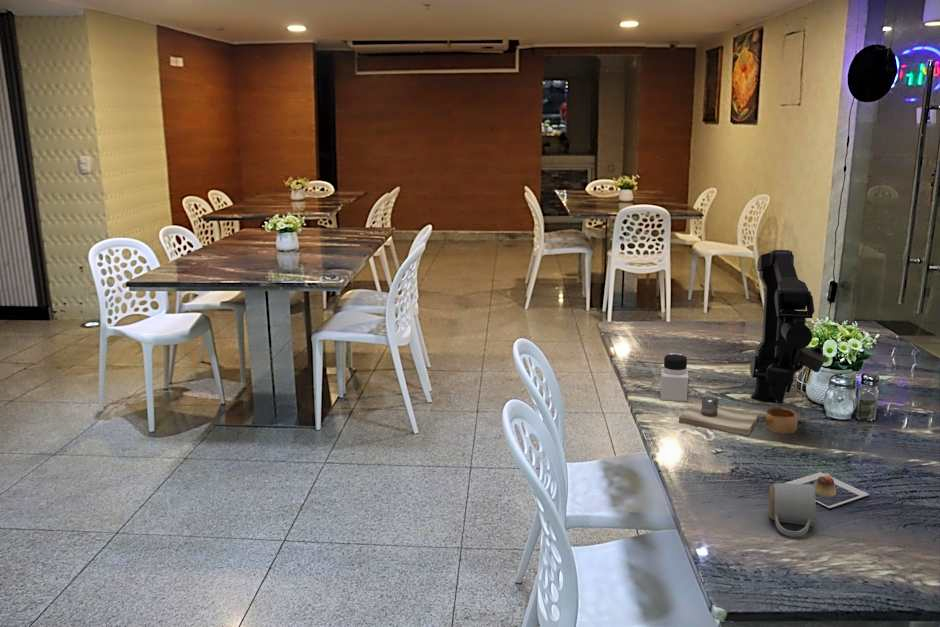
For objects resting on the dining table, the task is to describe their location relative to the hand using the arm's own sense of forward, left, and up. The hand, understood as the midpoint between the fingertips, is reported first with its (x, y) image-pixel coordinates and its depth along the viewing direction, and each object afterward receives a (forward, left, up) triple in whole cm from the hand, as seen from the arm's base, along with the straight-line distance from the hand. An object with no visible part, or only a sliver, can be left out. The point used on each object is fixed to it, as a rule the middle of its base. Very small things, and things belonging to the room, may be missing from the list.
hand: (783, 397), depth 195 cm
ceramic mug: (+49, +11, -8) cm, 51 cm away
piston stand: (+3, -14, -8) cm, 17 cm away
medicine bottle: (-9, -30, -8) cm, 32 cm away
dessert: (+31, +14, -9) cm, 35 cm away
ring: (0, 0, -8) cm, 8 cm away
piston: (+3, -17, -7) cm, 18 cm away
